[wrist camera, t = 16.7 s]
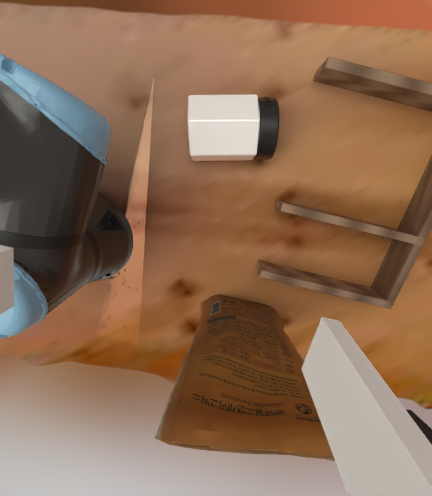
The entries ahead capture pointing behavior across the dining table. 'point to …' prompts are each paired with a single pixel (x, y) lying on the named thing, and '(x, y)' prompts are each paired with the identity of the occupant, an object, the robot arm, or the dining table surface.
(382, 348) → the dining table surface
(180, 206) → the dining table surface
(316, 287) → the lane organizer
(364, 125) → the dining table surface
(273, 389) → the pancake mix bag
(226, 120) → the jar
